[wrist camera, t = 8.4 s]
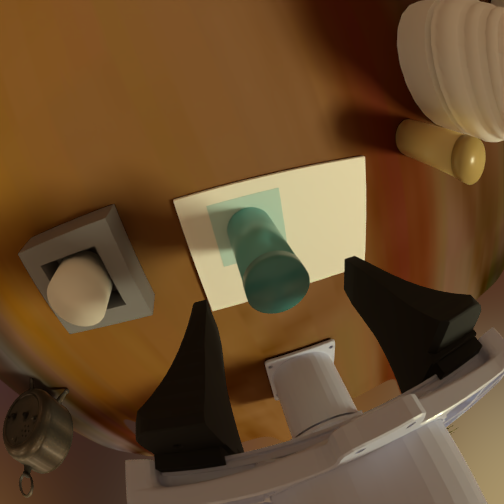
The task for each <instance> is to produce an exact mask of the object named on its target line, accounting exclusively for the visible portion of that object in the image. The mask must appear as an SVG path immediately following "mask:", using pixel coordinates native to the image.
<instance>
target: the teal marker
mask: <svg viewBox="0 0 504 504" xmlns="http://www.w3.org/2000/svg"><path fill="white" fill-rule="evenodd" d="M227 233H228V237H229V240H230V243H231V247H232V250H233V253H234V256H235V259H236V263H237V266H238V269H239V272H240V275H241V278H242V282H243V288H244V291H245V294H246V297H247V300H248V302H249V304H250V305H251V306H252V307H253V308H254V309H256V310H257V311H260V312H263V313H279V312H283V311H286V310H288V309H290V308H292V307H293V306H295V305H296V304H298V303H299V302H300V301H301V300H302V299H303V297H304V296H305V294H306V293H307V291H308V288H309V283H310V278H309V274H308V272H307V270H306V268H305V267H304V265H303V264H302V262H301V261H300V259H299V258H298V257H297V256H296V255H295V254H294V252H293V251H292V249H291V248H290V246H289V245H288V243H287V242H286V240H285V239H284V237H283V236H282V234H281V233H280V231H279V230H278V228H277V227H276V225H275V224H274V223H273V221H272V220H271V218H270V217H269V215H268V214H267V213H266V212H265V211H263V210H262V209H260V208H256V207H247V208H244V209H241V210H239V211H238V212H236V213H235V214H234V215H233V216H232V217H231V219H230V220H229V223H228V226H227Z"/></svg>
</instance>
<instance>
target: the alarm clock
mask: <svg viewBox="0 0 504 504" xmlns="http://www.w3.org/2000/svg"><path fill="white" fill-rule="evenodd" d="M67 393H69V390H68V389H65V390H64V392H63V393H62V394H61V395H60V396H59V397H58V398H57V399H55V398H53V397H52V396H51V395H49V394H48V393H47V392H46V391H44V390H42V389H34V386H33V380H32V378H31V379H30V390H28V391H26V392H24V393H23V394H21V395H20V396H19V397H18V398H17V399H16V400H15V401H14V402H13V404H12V405H11V407H10V409H9V411H8V413H7V415H6V418H5V421H4V427H3V440H4V444H5V447H6V449H7V451H8V453H9V454H10V455H11V456H12V457H13V458H14V459H16V460H17V461H19V462H20V463H22V464H24V472H23V474H22V475H21V477H20V481H19V487H20V491H21V493H22V495H23V496H25V497H30V496H31V495H32V492H33V480H32V477H31V476H30V472H31V469H32V470H33V471H35V472H38V473H42V474H43V473H48V472H51V471H53V470H55V469H56V468H57V467H59V466H60V465H61V463H62V462H63V461H64V459H65V457H66V456H67V454H68V451H69V449H70V446H71V443H72V437H73V422H72V418H71V415H70V413H69V411H68V410H67V409H66V407H64V406H63V405H61V403H62V401H63V400H64V398H65V396H66V394H67ZM24 476H25V477H27V478H30V480H31V490H30V492H29V494H28V495H25V494H24V493H23V491H22V487H21V481H22V478H23V477H24Z"/></svg>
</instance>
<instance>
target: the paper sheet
mask: <svg viewBox="0 0 504 504" xmlns="http://www.w3.org/2000/svg"><path fill="white" fill-rule="evenodd" d="M173 202H174V205H175V208H176V211H177V214H178V217H179V220H180V223H181V226H182V229H183V232H184V235H185V238H186V241H187V244H188V247H189V249H190V252H191V255H192V258H193V261H194V263H195V266H196V269H197V272H198V274H199V277H200V280H201V282H202V285H203V288H204V290H205V293H206V296H207V298H208V301H209V303H210V306H211V308H212V311H215V310H219V309H223V308H226V307H230V306H233V305H237V304H241V303H244V302H248V300H247V297H246V294H245V291H244V288H243V282H242V278H241V275H240V272H239V269H238V266H237V263H236V259H235V256H234V253H233V250H232V247H231V243H230V240H229V237H228V233H227V226H228V223H229V220H230V219H231V217H232V216H233V215H234V214H235V213H236V212H238V211H239V210H241V209H244V208H247V207H256V208H260V209H262V210H263V211H265V212H266V213H267V214H268V215H269V217H270V218H271V220H272V221H273V223H274V224H275V225H276V227H277V228H278V230H279V231H280V233H281V234H282V236H283V237H284V239H285V240H286V242H287V243H288V245H289V246H290V248H291V249H292V251H293V252H294V254H295V255H296V256H297V257H298V258H299V259H300V261H301V262H302V264H303V265H304V267H305V268H306V270H307V272H308V274H309V278H310V283H311V282H314V281H317V280H320V279H324V278H327V277H330V276H333V275H336V274H339V273H342V272H344V263H345V259H346V258H349V257H353V256H356V257H358V258H360V259H362V260H364V261H365V239H366V172H365V156H357V157H351V158H346V159H340V160H334V161H329V162H324V163H318V164H313V165H308V166H303V167H299V168H294V169H289V170H285V171H280V172H276V173H271V174H267V175H263V176H258V177H254V178H250V179H246V180H242V181H238V182H234V183H230V184H226V185H223V186H219V187H215V188H211V189H208V190H204V191H201V192H197V193H193V194H190V195H187V196H183V197H180V198H176V199H173Z"/></svg>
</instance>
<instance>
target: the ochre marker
mask: <svg viewBox="0 0 504 504" xmlns="http://www.w3.org/2000/svg"><path fill="white" fill-rule="evenodd" d="M396 145H397V147H398V149H399V151H400V152H401V153H402V154H404V155H406V156H408V157H411V158H413V159H416V160H418V161H421V162H423V163H425V164H428V165H430V166H432V167H434V168H437V169H439V170H441V171H443V172H445V173H447V174H449V175H452V176H454V177H456V178H457V179H458V180H460V181H462V182H464V183H466V184H468V185H472V184H474V183H476V182H477V181H478V179H479V178H480V176H481V174H482V172H483V169H484V165H485V148H484V145H483V143H482V141H481V140H480V139H479V138H476V137H473V136H471V135H468V134H462V133H459V132H456V131H453V130H450V129H446V128H443V127H439V126H436V125H432V124H428V123H424V122H420V121H416V120H412V119H406V120H404V121H402V122H401V123H400V125H399V126H398V128H397V131H396Z"/></svg>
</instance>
